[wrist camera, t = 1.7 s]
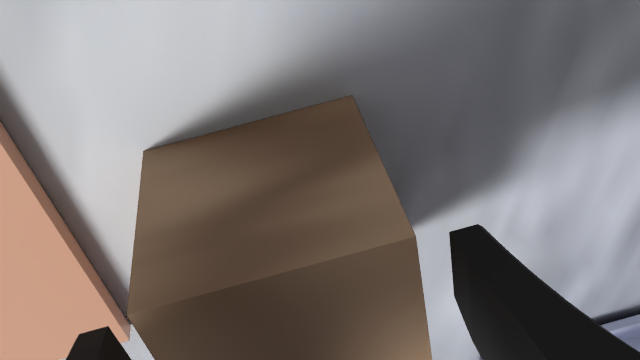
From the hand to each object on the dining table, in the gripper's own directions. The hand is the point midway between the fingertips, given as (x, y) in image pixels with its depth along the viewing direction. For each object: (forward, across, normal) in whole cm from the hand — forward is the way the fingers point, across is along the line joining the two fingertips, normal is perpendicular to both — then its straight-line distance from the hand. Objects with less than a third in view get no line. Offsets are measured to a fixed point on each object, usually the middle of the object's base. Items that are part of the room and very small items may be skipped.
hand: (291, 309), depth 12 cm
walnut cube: (+4, 0, 0) cm, 4 cm away
